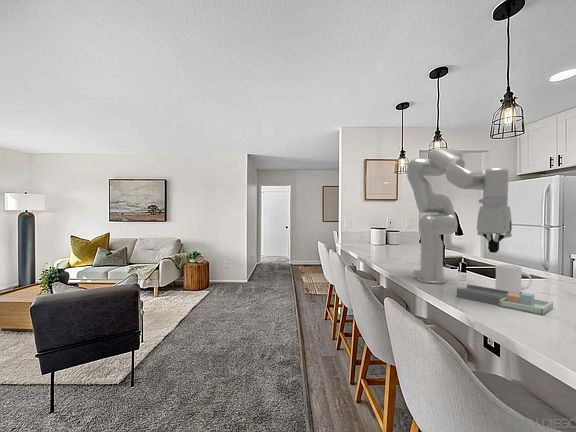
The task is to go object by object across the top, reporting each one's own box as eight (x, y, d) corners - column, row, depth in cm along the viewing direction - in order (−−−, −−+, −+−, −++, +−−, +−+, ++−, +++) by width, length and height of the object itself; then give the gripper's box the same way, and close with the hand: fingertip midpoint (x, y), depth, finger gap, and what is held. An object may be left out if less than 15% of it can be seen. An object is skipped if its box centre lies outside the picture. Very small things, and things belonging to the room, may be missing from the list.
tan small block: (506, 303, 110) (506, 294, 110) (510, 301, 113) (510, 293, 113) (519, 306, 107) (519, 297, 107) (523, 303, 110) (523, 295, 110)
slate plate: (456, 296, 120) (456, 287, 120) (467, 292, 127) (467, 284, 127) (498, 305, 109) (498, 295, 109) (508, 300, 116) (508, 291, 116)
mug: (533, 296, 121) (534, 269, 121) (496, 292, 127) (497, 266, 127) (529, 291, 129) (529, 265, 129) (494, 288, 135) (494, 263, 135)
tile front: (520, 294, 107) (530, 296, 105) (523, 292, 109) (534, 294, 107) (519, 306, 107) (530, 308, 105) (523, 304, 110) (534, 306, 107)
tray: (497, 306, 109) (497, 300, 109) (510, 300, 116) (510, 294, 116) (542, 315, 99) (542, 309, 99) (552, 308, 107) (552, 302, 107)
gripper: (468, 202, 118) (467, 250, 119) (515, 202, 106) (514, 255, 107) (476, 202, 123) (475, 249, 123) (522, 202, 111) (521, 254, 112)
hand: (493, 252), depth 115 cm, fingers closed
